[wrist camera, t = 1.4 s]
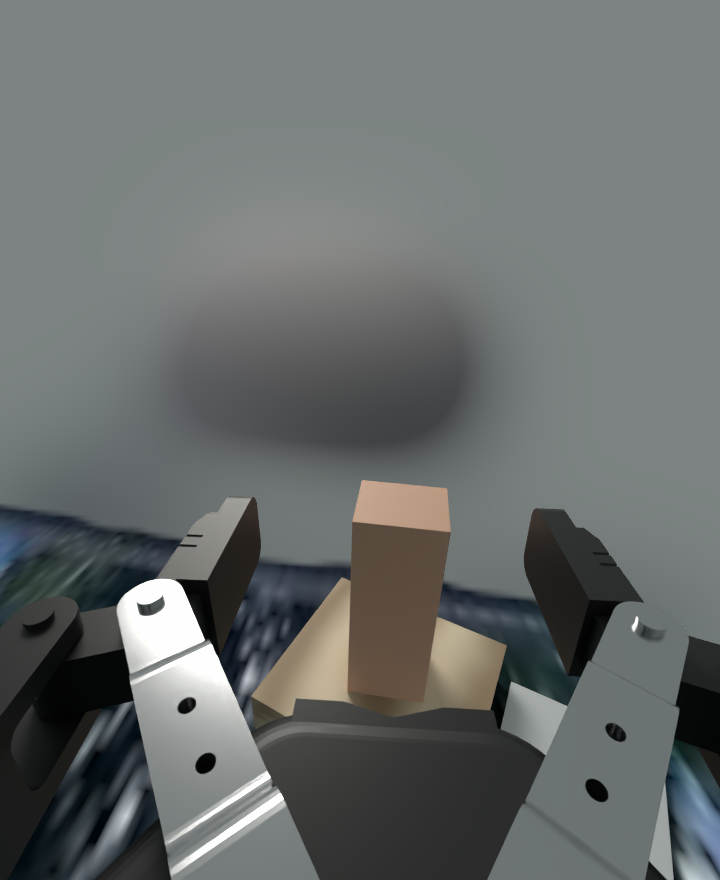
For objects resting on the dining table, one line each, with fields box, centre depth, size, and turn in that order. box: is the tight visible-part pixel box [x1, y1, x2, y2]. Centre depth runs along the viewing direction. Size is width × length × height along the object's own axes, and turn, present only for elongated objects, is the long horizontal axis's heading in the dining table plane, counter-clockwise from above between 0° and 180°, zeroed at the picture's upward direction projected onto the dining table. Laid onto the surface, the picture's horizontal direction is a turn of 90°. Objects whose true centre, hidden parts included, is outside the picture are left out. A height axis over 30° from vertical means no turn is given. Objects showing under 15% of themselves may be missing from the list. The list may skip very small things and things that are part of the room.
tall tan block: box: [347, 480, 451, 702], centre depth 28 cm, size 5×4×14 cm
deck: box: [251, 578, 507, 730], centre depth 32 cm, size 14×12×4 cm
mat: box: [501, 682, 674, 880], centre depth 26 cm, size 10×16×1 cm, turn 153°
